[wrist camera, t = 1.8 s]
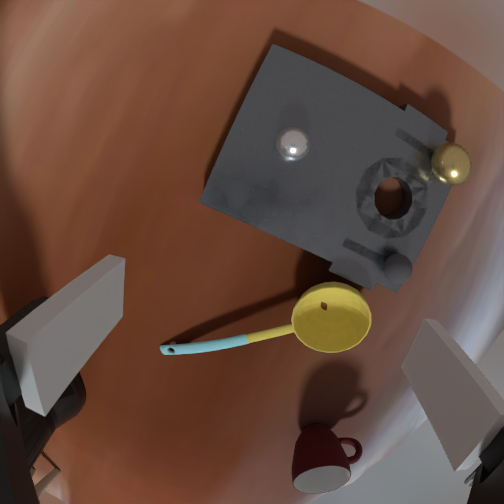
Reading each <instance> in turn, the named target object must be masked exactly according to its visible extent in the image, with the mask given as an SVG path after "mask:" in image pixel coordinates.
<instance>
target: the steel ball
mask: <svg viewBox="0 0 504 504" xmlns="http://www.w3.org/2000/svg"><path fill="white" fill-rule="evenodd" d="M310 146H311V142H310V138H309V136H308V134H307V133H306V132H305V131H304V130H302V129H301V128H298V127H288V128H285V129H284V130H282V131H281V132H280V133H279V134H278V136H277V139H276V148H277V150H278V152H279V154H280V155H281V156H282V157H283V158H285V159H287V160H291V161H296V160H300V159H302V158H304V157H305V156H306V155H307V154H308V152H309V150H310Z"/></svg>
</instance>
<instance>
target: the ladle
mask: <svg viewBox="0 0 504 504" xmlns="http://www.w3.org/2000/svg"><path fill="white" fill-rule="evenodd" d="M321 301H322V302H325V303H327V309H326V310H324V309H322V308H321V306H320V305H321ZM291 321H292V324H288V325H284V326H280V327H276V328H272V329H267V330H263V331H259V332H255V333H251V334H243V335H239V336H234V337H229V338H224V339H218V340H212V341H205V342H197V343H187V344H174V345H160V350H161V352H162V353H163V354H164V355H172V354H190V353H200V352H208V351H214V350H220V349H225V348H230V347H235V346H240V345H245V344H249V343H251V342H255V341H260V340H264V339H268V338H273V337H277V336H281V335H285V334H289V333H293V332H295V334H296V336H297V338H298V339H299V340H300V341H301V342H303V343H304V344H305V345H306V346H308V347H310V348H312V349H314V350H316V351H321V352H327V353H331V352H341V351H344V350H348V349H351V348H352V347H354V346H355V345H357V344H359V343H360V342H361V341H362V340H363V339H364V337H365V336H366V335H367V334H368V331H369V329H370V326H371V312H370V309H369V307H368V304H367V302H366V300H365V298H364V297H363V296H362V295H361V293H360V292H359V291H358V290H357V289H355V288H353V287H351V286H349V285H347V284H344V283H339V282H324V283H321V284H318V285H316V286H313V287H311V288H310V289H308V290H307V291H306V292H304V293H303V294H302V296H301V297H300V299H299V300H298V302H297V303H296V305H295V307H294V309H293V313H292V317H291ZM169 347H170V348H173V349H174V350H175V352H172V351H170V350H169Z"/></svg>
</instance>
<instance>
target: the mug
mask: <svg viewBox="0 0 504 504" xmlns="http://www.w3.org/2000/svg"><path fill="white" fill-rule="evenodd" d="M341 444H350V445H352V446H353V447H354V448H355V450H356V453H355V455H354V456H351V457H347V455H346V454H345V452H344V450H343V448H342V446H341ZM361 455H362V446H361V444H360V443H359V441H357V440H356V439H353V438H337V436H336V435H335V434H334V433H333V432H332V431H331V430H330V429H328V428H327V427H326V426H325V425H322V424H312V425H309V426H307V427H306V428H304V429H303V431H302V432H301V434H300V436H299V437H298V439H297V441H296V444H295V450H294V456H293V463H292V481H293V486H294V488H295V489H296V490H298V491H300V492H303V493H310V494H317V493H325V492H329V491H332V490H335V489H337V488H339V487H341V486H343V485H344V484H345V483H346V482H348V480H349V479H350V477H351V471H350V466H349V464H353V463H355V462H357V461H358V460H359V459H360V457H361Z"/></svg>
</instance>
